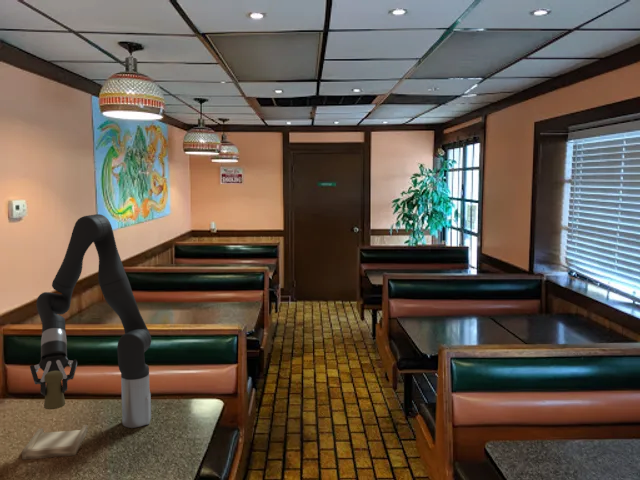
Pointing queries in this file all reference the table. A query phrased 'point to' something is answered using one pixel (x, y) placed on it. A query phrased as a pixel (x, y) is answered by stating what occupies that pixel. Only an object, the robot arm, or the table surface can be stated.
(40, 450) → the beige square tray
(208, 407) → the table surface
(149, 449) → the table surface
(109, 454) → the table surface
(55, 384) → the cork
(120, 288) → the robot arm
